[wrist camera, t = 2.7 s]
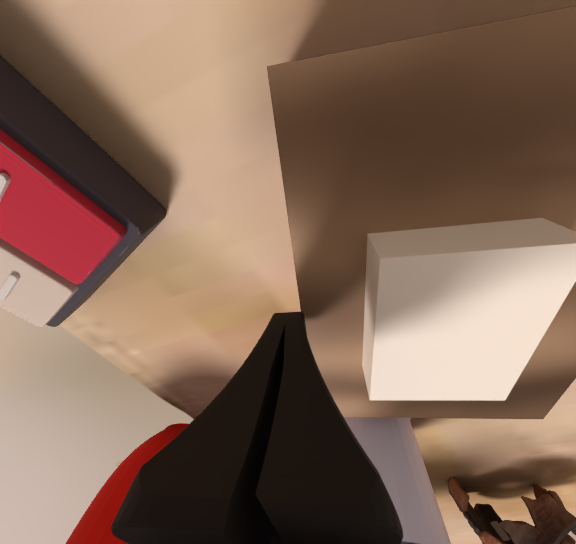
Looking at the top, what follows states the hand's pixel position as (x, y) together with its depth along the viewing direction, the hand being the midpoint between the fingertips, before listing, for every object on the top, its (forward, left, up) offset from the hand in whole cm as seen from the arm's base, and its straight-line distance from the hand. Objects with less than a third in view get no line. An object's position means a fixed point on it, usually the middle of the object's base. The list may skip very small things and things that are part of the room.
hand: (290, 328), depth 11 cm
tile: (0, -6, -1) cm, 7 cm away
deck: (0, -7, -4) cm, 9 cm away
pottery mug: (-32, -20, -5) cm, 38 cm away
